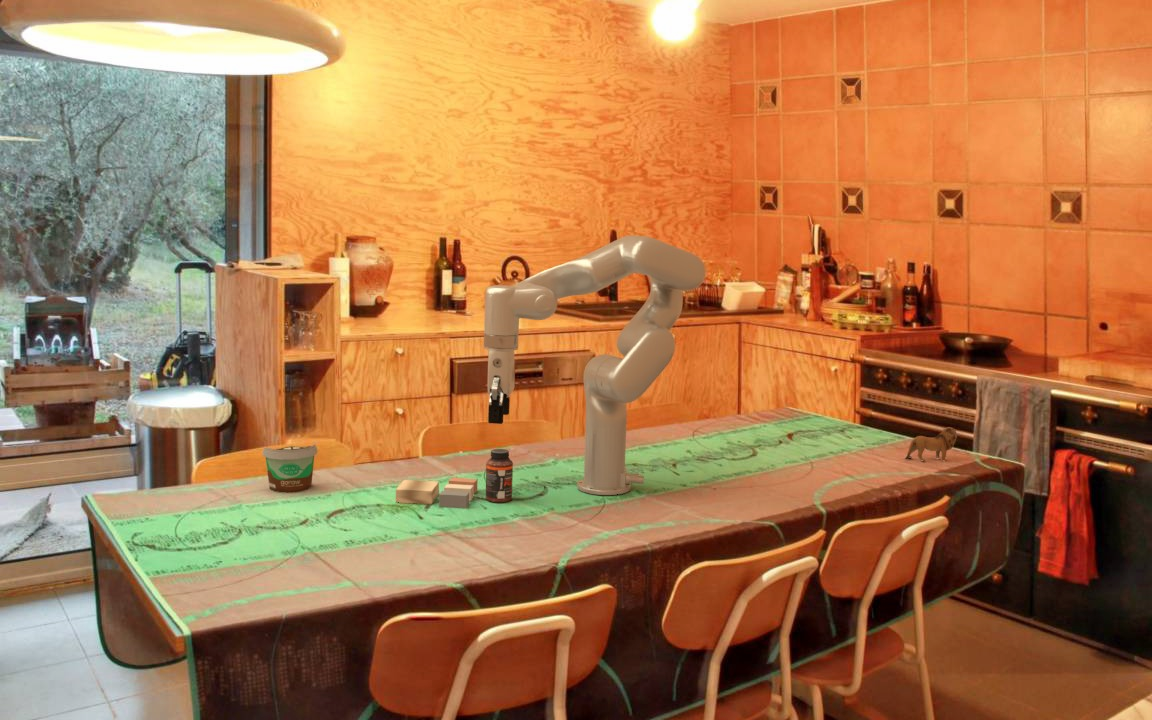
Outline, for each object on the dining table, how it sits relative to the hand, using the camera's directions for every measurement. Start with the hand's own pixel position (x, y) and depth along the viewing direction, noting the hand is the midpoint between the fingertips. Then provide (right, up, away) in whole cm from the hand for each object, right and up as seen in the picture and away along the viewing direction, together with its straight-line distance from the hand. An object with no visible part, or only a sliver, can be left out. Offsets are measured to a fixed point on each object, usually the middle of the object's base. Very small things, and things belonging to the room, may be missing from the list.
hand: (498, 418), depth 234 cm
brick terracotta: (-9, -17, +9) cm, 21 cm away
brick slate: (-10, -19, -2) cm, 21 cm away
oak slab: (-18, -18, +2) cm, 26 cm away
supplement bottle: (0, -19, +3) cm, 19 cm away
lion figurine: (+113, -14, +51) cm, 125 cm away
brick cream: (-9, -18, +3) cm, 21 cm away
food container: (-47, -17, +6) cm, 50 cm away
